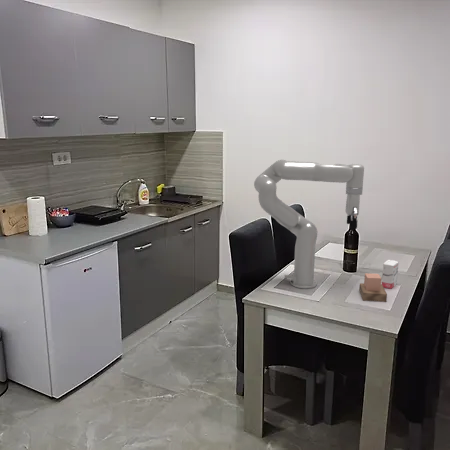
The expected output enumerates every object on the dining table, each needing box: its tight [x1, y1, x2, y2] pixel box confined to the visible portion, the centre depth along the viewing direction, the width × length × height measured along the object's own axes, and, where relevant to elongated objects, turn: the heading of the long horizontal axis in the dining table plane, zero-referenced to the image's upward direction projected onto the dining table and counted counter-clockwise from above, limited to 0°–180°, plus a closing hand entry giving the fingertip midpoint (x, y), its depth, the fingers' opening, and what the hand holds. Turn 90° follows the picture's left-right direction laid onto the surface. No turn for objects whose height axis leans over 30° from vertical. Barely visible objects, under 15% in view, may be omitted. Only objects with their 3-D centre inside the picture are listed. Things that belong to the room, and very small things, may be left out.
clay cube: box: [363, 273, 382, 291], centre depth 200 cm, size 6×6×6 cm
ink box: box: [381, 259, 400, 290], centre depth 213 cm, size 9×5×12 cm, turn 142°
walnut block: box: [358, 282, 388, 303], centre depth 201 cm, size 10×12×4 cm
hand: (351, 226), depth 212 cm, fingers open, 9 cm apart
